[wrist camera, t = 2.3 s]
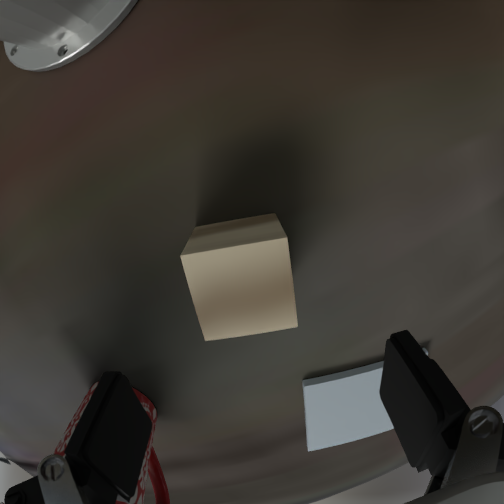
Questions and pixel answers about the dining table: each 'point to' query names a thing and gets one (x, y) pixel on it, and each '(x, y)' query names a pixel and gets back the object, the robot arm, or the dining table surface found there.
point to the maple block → (240, 277)
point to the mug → (150, 457)
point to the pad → (344, 406)
